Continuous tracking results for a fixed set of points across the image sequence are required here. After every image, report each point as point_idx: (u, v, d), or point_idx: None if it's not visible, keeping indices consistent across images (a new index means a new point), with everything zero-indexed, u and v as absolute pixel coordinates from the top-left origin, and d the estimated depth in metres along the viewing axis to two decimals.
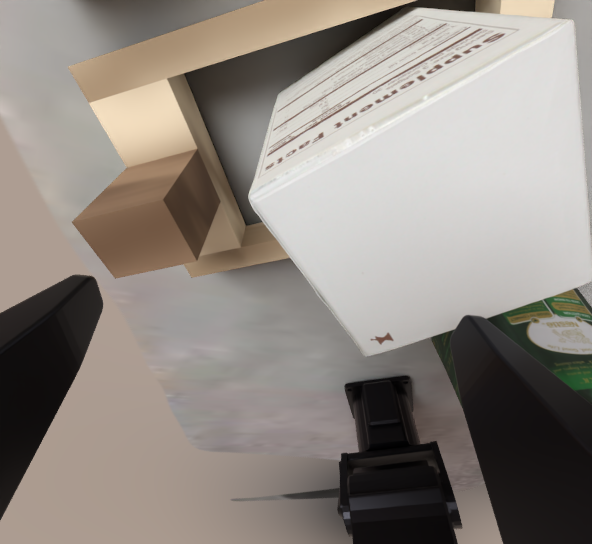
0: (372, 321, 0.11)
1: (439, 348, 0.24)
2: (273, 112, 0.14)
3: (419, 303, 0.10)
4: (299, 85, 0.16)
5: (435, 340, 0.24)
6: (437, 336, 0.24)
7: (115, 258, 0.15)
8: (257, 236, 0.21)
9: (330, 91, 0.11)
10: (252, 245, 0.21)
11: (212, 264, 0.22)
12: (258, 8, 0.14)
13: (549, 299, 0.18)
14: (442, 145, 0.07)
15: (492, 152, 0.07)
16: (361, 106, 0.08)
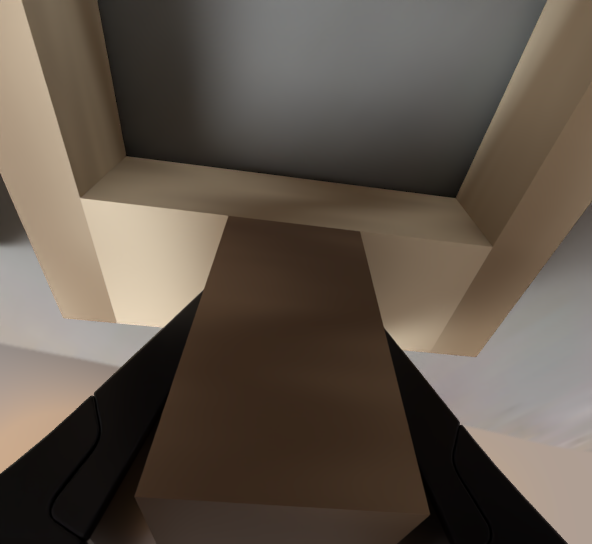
0: None
1: None
2: None
3: None
4: None
5: None
6: None
7: None
8: (497, 192, 0.08)
9: None
10: (510, 221, 0.08)
11: (481, 315, 0.09)
12: None
13: None
14: None
15: None
16: None
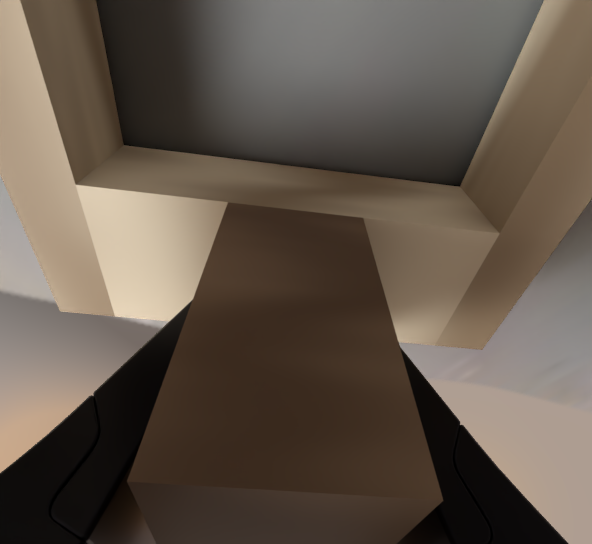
0: None
1: None
2: None
3: None
4: None
5: None
6: None
7: None
8: (504, 177, 0.08)
9: None
10: (518, 206, 0.07)
11: (488, 306, 0.09)
12: None
13: None
14: None
15: None
16: None
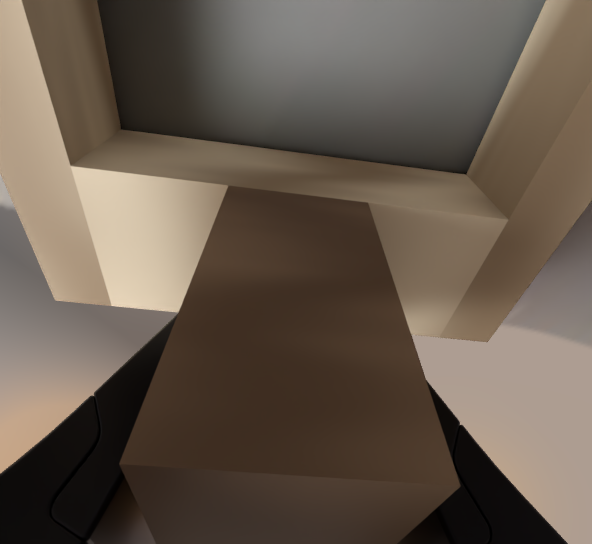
0: None
1: None
2: None
3: None
4: None
5: None
6: None
7: None
8: (513, 162, 0.08)
9: None
10: (528, 190, 0.07)
11: (494, 296, 0.09)
12: None
13: None
14: None
15: None
16: None
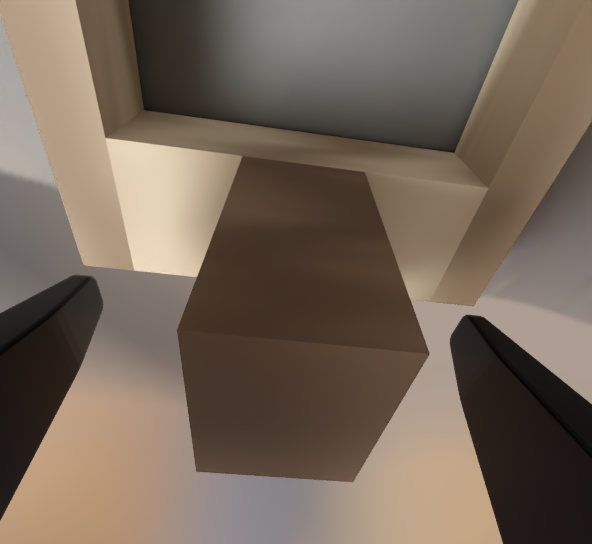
0: None
1: None
2: None
3: None
4: None
5: None
6: None
7: (307, 463, 0.06)
8: (493, 137, 0.09)
9: None
10: (505, 161, 0.08)
11: (478, 261, 0.10)
12: None
13: None
14: None
15: None
16: None
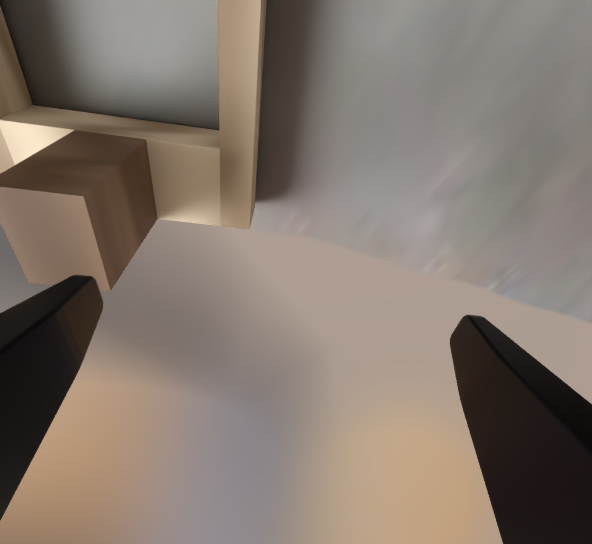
0: None
1: None
2: None
3: None
4: None
5: None
6: None
7: (79, 274, 0.13)
8: None
9: None
10: (220, 132, 0.15)
11: (236, 196, 0.17)
12: None
13: None
14: None
15: None
16: None
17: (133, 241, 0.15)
